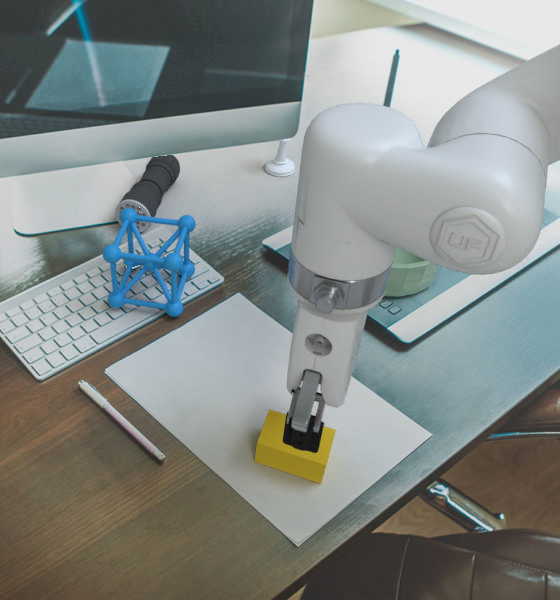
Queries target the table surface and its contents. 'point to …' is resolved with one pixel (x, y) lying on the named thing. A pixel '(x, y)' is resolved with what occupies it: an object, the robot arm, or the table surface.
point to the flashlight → (150, 189)
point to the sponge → (291, 450)
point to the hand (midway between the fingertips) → (312, 405)
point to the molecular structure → (151, 261)
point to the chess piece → (280, 162)
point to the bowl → (410, 274)
